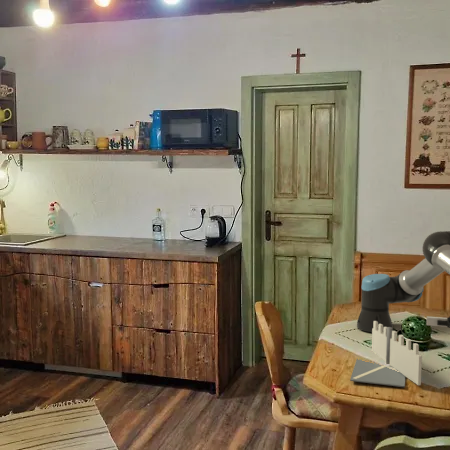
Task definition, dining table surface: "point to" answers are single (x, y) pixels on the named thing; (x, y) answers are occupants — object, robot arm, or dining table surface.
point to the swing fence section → (405, 358)
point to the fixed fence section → (381, 341)
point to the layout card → (376, 374)
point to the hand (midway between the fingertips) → (426, 320)
